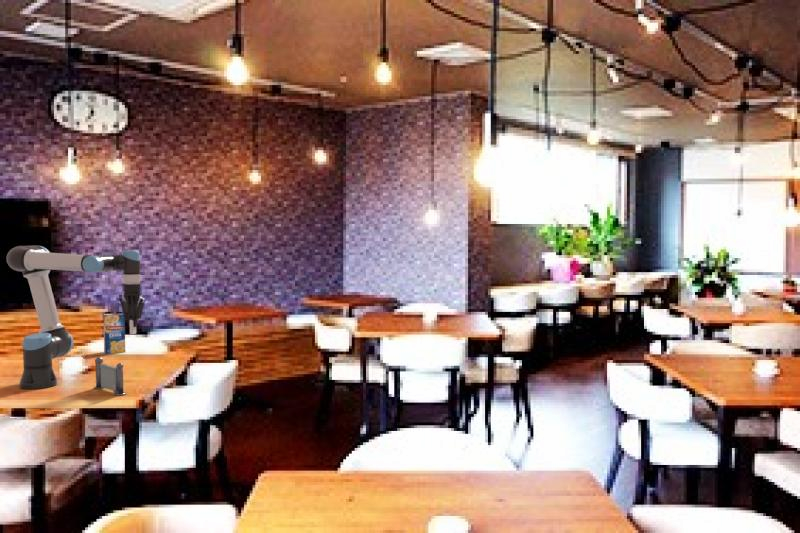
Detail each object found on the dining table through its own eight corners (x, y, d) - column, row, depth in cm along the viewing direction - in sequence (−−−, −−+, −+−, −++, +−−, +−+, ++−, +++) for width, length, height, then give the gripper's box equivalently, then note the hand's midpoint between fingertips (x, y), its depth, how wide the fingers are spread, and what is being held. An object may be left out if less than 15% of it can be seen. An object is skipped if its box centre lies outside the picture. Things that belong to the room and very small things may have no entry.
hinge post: (91, 388, 316) (90, 357, 316) (102, 386, 320) (101, 355, 320) (96, 390, 313) (96, 358, 313) (107, 388, 317) (107, 357, 316)
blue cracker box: (103, 352, 411) (103, 314, 410) (124, 350, 416) (123, 313, 415) (105, 353, 405) (104, 315, 404) (125, 352, 410) (124, 314, 409)
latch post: (111, 394, 305) (110, 363, 304) (122, 392, 309) (121, 361, 308) (118, 396, 301) (117, 364, 301) (129, 394, 305) (128, 362, 304)
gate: (100, 387, 314) (99, 364, 314) (104, 386, 316) (103, 363, 315) (116, 391, 305) (115, 368, 305) (120, 391, 307) (119, 367, 306)
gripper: (149, 283, 330) (150, 333, 332) (125, 282, 334) (126, 332, 335) (139, 284, 323) (140, 335, 324) (114, 283, 327) (115, 334, 328)
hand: (133, 333), depth 330 cm, fingers closed
